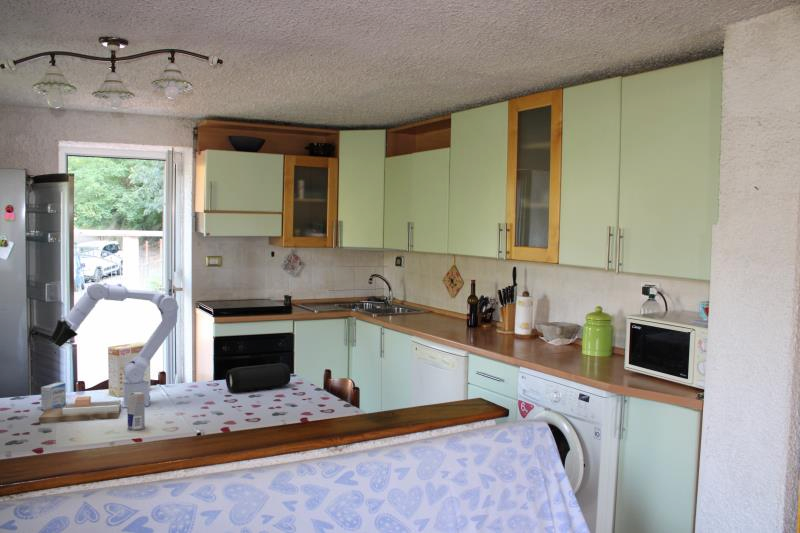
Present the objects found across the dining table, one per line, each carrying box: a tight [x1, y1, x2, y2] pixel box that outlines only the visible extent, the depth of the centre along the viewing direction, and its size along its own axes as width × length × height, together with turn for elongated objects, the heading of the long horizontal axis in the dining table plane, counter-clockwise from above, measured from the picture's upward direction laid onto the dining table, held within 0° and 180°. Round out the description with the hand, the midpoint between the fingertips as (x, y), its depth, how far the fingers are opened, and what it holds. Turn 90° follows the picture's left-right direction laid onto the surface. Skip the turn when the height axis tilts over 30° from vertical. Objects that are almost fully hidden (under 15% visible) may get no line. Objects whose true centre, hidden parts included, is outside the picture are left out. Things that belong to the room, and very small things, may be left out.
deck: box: [38, 403, 122, 424], centre depth 245 cm, size 25×12×2 cm, turn 107°
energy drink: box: [126, 391, 146, 431], centre depth 231 cm, size 5×5×12 cm
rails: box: [62, 399, 121, 415], centre depth 246 cm, size 18×8×2 cm, turn 107°
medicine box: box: [40, 382, 67, 411], centre depth 255 cm, size 8×4×9 cm, turn 168°
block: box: [74, 395, 92, 408], centre depth 245 cm, size 4×4×4 cm
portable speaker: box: [225, 362, 292, 393], centre depth 289 cm, size 26×10×10 cm, turn 123°
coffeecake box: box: [107, 341, 151, 398], centre depth 280 cm, size 15×7×20 cm, turn 144°
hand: (55, 342), depth 247 cm, fingers open, 7 cm apart
